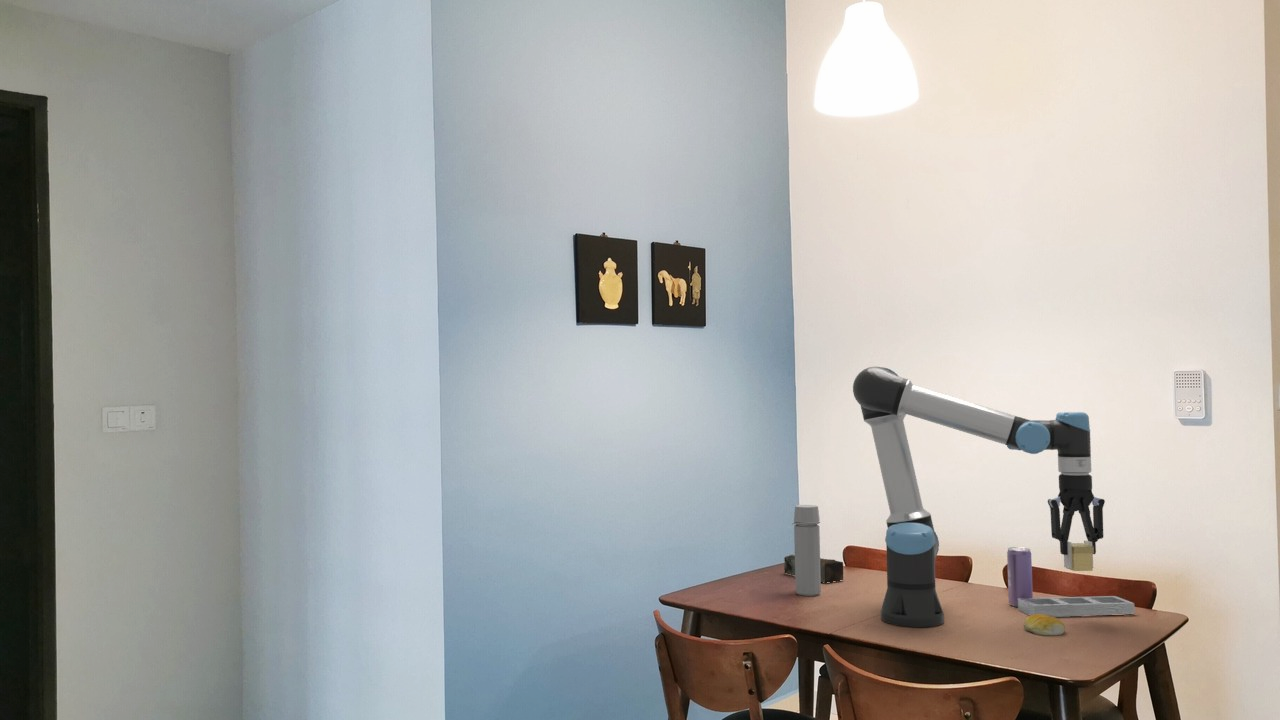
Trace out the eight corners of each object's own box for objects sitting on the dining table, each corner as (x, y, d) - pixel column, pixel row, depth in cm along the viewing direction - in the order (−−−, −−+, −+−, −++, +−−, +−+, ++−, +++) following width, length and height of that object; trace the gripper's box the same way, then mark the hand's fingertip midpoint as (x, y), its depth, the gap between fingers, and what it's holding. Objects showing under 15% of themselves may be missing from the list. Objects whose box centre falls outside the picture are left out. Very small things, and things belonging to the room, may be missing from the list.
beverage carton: (802, 572, 293) (801, 552, 293) (845, 582, 277) (844, 560, 277) (783, 575, 289) (783, 554, 289) (826, 585, 273) (825, 563, 273)
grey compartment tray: (1034, 617, 228) (1033, 605, 228) (1018, 609, 237) (1018, 598, 237) (1134, 615, 229) (1134, 603, 229) (1115, 607, 238) (1115, 596, 238)
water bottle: (827, 595, 257) (825, 506, 258) (803, 597, 254) (801, 508, 256) (809, 589, 266) (807, 503, 267) (786, 591, 263) (784, 504, 264)
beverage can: (1035, 608, 238) (1033, 550, 239) (1011, 607, 239) (1009, 550, 240) (1030, 603, 244) (1028, 547, 245) (1006, 602, 245) (1005, 546, 246)
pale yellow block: (1074, 571, 223) (1073, 546, 223) (1063, 567, 229) (1062, 543, 229) (1094, 571, 223) (1093, 546, 223) (1083, 567, 229) (1082, 543, 229)
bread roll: (1046, 626, 221) (1045, 609, 221) (1071, 635, 212) (1070, 617, 212) (1016, 628, 219) (1015, 611, 219) (1040, 637, 210) (1039, 620, 210)
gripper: (1047, 475, 223) (1050, 571, 222) (1117, 474, 224) (1121, 569, 222) (1033, 473, 231) (1036, 565, 230) (1101, 471, 231) (1105, 564, 230)
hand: (1078, 567), depth 226 cm, fingers closed on pale yellow block, 4 cm apart
